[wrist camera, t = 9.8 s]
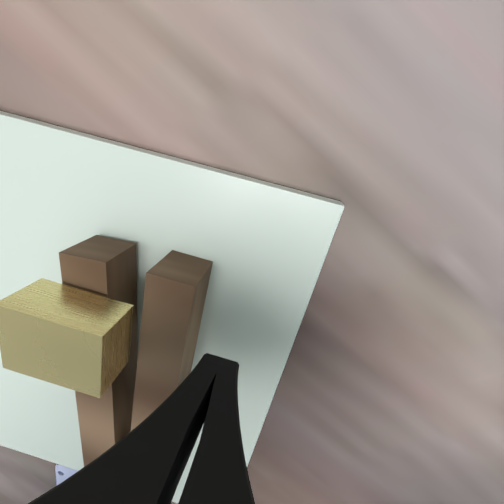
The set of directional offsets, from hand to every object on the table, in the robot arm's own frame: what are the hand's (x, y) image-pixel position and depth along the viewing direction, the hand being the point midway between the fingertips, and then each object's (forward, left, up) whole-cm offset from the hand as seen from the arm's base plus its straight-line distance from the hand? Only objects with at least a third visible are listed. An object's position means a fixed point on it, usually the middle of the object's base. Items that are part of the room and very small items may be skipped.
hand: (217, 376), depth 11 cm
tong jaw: (-4, +6, -3) cm, 8 cm away
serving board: (-5, +7, -4) cm, 10 cm away
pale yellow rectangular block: (0, +6, -1) cm, 6 cm away
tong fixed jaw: (-6, +4, -3) cm, 8 cm away
